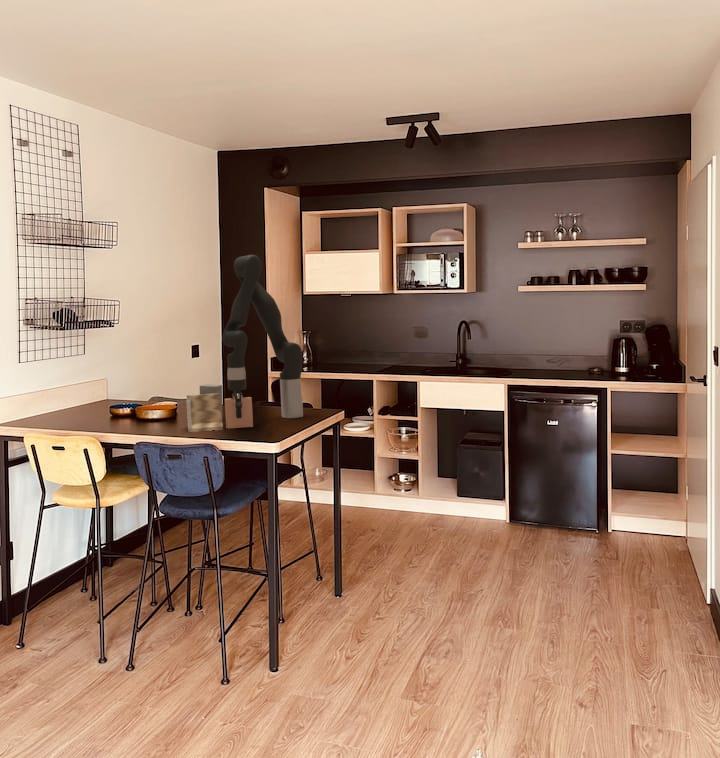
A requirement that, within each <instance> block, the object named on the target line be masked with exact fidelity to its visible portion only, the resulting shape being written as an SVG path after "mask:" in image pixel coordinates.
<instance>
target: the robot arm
mask: <svg viewBox="0 0 720 758" xmlns="http://www.w3.org/2000/svg"><path fill="white" fill-rule="evenodd" d="M262 268H263V264H262V260H261V259H260V257H259V255H255V254H248V255H243V256H238V257H237V258H236V259H235V260H234V263H233V269H234V272H235V274H236V277H237V278H238V279H239V281H240V283H241V287H240V289H239V291H238V293H237V294H236V297H235V298H234V300H233V303H232V305H231V311H230V318H229V320H228V322H227V324H226V326H225V328H224V330H223V333H222V343H223V344H224V346H225V347H228V348H233V351H232V352H230V353H228V355H227V356H226V358H227V389H228V390H229V391H233V393H232V398H233V399H234V405H235V408H236V418H242V412H241V409H242V398H243V393H242V392H241V391H244V390H246V389H247V375H246V374H247V372H246V367H245V355H246V352H247V347H248V336H247V334H246V332H245V331H243V330H240V328H242V327H243V326H245V325H246V324H247V322H248V317H249V312H250V308H251V303H252V305H253V307H254V310H255V312H256V315H257V316H258V318H259V320H260V322H261V323H262V326H263V328H264V330H265V332H266V334H267V337H268V338H269V341H270V343H271V346H272V349H273V351H274V352H273V353H274V354H275V357H276V358H277V360H278V361H279V362H280V363H283V369H282V371H280V372H279V387H280V388H279V389H280V405H281V406H280V407H281V408H280V409H281V410H280V411H281V412H280V413H281V418H284V419H296V418H297V419H298V418H303V417H304V407H303V406H304V405H303V402H304V401H303V395H302V379H301V378H302V377H301V376H302V373H303V350H302V348H301V346H300V345H299V344H298V343H296V342H290V341H289V340H288V339H287V337H286V335H285V333H284V331H283V328H282V327H283V326H282V324H283V323H282V315H281V311H280V308H279V306H278V304H277V302H276V301H275V299H274V297H273V296H272V295H271V294H270V293H269V292H268V291H267V290H266V289H265V288H264V287H263V286H262V285H261V284H260V282H259V279H260V276H261V273H262Z"/></svg>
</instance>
